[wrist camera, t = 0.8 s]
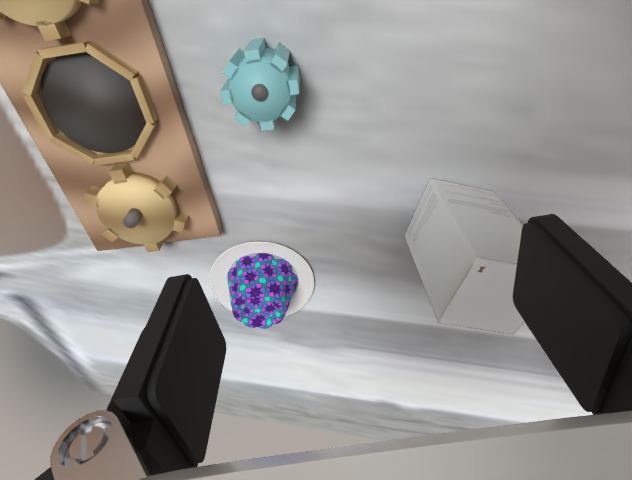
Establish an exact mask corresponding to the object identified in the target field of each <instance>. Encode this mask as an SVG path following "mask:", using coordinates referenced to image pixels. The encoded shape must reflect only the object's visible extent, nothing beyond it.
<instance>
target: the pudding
mask: <svg viewBox="0 0 632 480" xmlns="http://www.w3.org/2000/svg"><path fill="white" fill-rule="evenodd" d="M252 253H259V254H257V255H256V256H255V257H250V256H245V255H248V254H252ZM267 253H269V254H267ZM270 254H274V255H277V256H279V257H281V258H284V259H285V260H286V261H285V260H283V259H275V258H274V257H273V256H272V255H270ZM243 256H244V257H243ZM239 258H240V259H239ZM238 259H239V260H238ZM236 260H237V262H236V267H234V268H231V269H230V270H229V268H230V267H231V265H232V264H233V263H234V262H235V261H236ZM287 261H288V262H289V263H290V264H291V265H292V266H293V267H294V268H295V270H296V272H297V274H298V278H299V285H298V288H297V290H296V292H295V294H294V291H295V289H296V286H297V283H298V278H297V275H296V274H294V273H292V272H291V268H292V266H291V265H290V264H289V263H288V262H287ZM228 270H229V272H228ZM227 273H228V283H227ZM228 285H229V286H228ZM210 286H211V289H212V291H213V294H214V295H215V297H216V298H217V300H218V301H219V302H220V303H221V304H222V305H223V306H225V307H226V308H227V309H229V310H230V311H232V312H233V315H234V317H235V318H236V319H237V320H238V321H241V322H243V323H244V324H245V325H246V326H248V327H252V328H255V327H259V328H269V327H271V326H272V324H278V323H280V322H281V321H282V320H283V318H284V317H286V316H289V315H291V314H293V313H295V312H297V311H298V310H300V309H301V308H302V307H303V306H304V305H305V304H306V303H307V302H308V301H309V299H310V297H311V295H312V293H313V290H314V276H313V273H312V270H311V268H310V266H309V265H308V263H307V262H306V261H305V260H304V259H303V258H302V257H301V256H300V255H299V254H297V253H296V252H295V251H293V250H291V249H289V248H287V247H285V246H282V245H279V244H276V243H270V242H248V243H243V244H240V245H236V246H234V247H232V248H230V249H228V250H227V251H225V252H224V253H222V254H221V255H220V256H219V257H218V258H217V259H216V261H215V262H214V264H213V266H212V268H211V271H210ZM293 294H294V295H293Z"/></svg>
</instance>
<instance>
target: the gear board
mask: <svg viewBox="0 0 632 480" xmlns="http://www.w3.org/2000/svg"><path fill="white" fill-rule="evenodd" d="M0 83H1V85H2V87H3V89H4V90H5V92H6V94H7V96H8V97H9V99H10V101H11V102H12V104H13V106H14V108H15V109H16V111H17V113H18V115H19V116H20V118H21V120H22V121H23V123H24V125H25V127H26V128H27V130H28V132H29V134H30V135H31V137H32V139H33V140H34V142H35V144H36V146H37V147H38V149H39V151H40V152H41V154H42V156H43V158H44V159H45V161H46V163H47V165H48V166H49V168H50V170H51V171H52V173H53V175H54V177H55V178H56V180H57V182H58V184H59V185H60V187H61V189H62V190H63V192H64V194H65V196H66V197H67V199H68V201H69V202H70V204H71V206H72V208H73V209H74V211H75V213H76V215H77V216H78V218H79V220H80V221H81V223H82V225H83V227H84V228H85V230H86V232H87V234H88V235H89V237H90V239H91V240H92V242H93V244H94V246H95V247H96V249H97V251H102V250H110V249H118V248H126V247H134V246H142V245H144V246H145V248H146V250H147V252H153V251H159V250H160V248H161V246H162V244H163V243H165V242H173V241H181V240H189V239H197V238H205V237H212V236H220V235H221V232H222V229H223V226H222V223H221V220H220V217H219V214H218V211H217V208H216V205H215V202H214V199H213V196H212V193H211V190H210V187H209V184H208V180H207V177H206V174H205V171H204V168H203V165H202V162H201V159H200V156H199V153H198V150H197V147H196V144H195V141H194V138H193V135H192V132H191V129H190V126H189V123H188V120H187V117H186V114H185V111H184V108H183V105H182V102H181V98H180V95H179V92H178V89H177V86H176V83H175V80H174V77H173V74H172V71H171V68H170V65H169V62H168V59H167V56H166V53H165V50H164V47H163V44H162V41H161V38H160V35H159V32H158V29H157V26H156V23H155V20H154V16H153V13H152V10H151V7H150V4H149V1H148V0H0Z"/></svg>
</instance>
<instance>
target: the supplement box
mask: <svg viewBox="0 0 632 480" xmlns="http://www.w3.org/2000/svg"><path fill="white" fill-rule="evenodd" d="M522 227H523V225H522V224H521V223H520V222H519V220H518V219H517V218H516V217H515V216H514V215H513V213H512V212H511V211H510V210H509V209H508V208H507V206H506V205H505V204H504V203H503V202H502V200H501V199H500V198H499V197H498V196H497V195H496V193H495V192H492V191H487V190H483V189H479V188H474V187H469V186H465V185H460V184H456V183H451V182H446V181H442V180H437V179H433V178H431V179H430V181H429V183H428V185H427V187H426V189H425V192H424V194H423V196H422V198H421V200H420V202H419V205H418V207H417V209H416V211H415V213H414V215H413V218H412V220H411V222H410V224H409V226H408V229H407V231H406V233H405V239H406V241H407V244H408V246H409V249H410V252H411V254H412V257H413V259H414V262H415V264H416V267H417V270H418V272H419V275H420V277H421V280H422V283H423V285H424V288H425V290H426V293H427V295H428V298H429V300H430V303H431V305H432V308H433V311H434V313H435V316H436V318H437V321H438V323H440V324H447V325H454V326H461V327H468V328H474V329H481V330H487V331H494V332H500V333H506V334H515V333H516V331H517V330H518V329H519V328H520V326H521V325H522V324H523V323H524V320H523V318H522V317H521V315H520V314H519V312H518V311H517V309H516V308H515V306H514V303H513V288H514V281H515V274H516V267H517V260H518V253H519V246H520V239H521V232H522Z"/></svg>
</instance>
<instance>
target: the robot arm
mask: <svg viewBox="0 0 632 480" xmlns="http://www.w3.org/2000/svg"><path fill="white" fill-rule="evenodd" d="M513 303H514V306H515V308H516V309H517V311H518V312H519V314H520V315H521V317H522V318H523V320H524V321H525V323H526V324H527V326H528V327H529V329H530V330H531V332H532V333H533V335H534V336H535V338H536V339H537V341H538V342H539V344H540V345H541V347H542V348H543V350H544V351H545V353H546V354H547V356H548V357H549V359H550V360H551V362H552V363H553V365H554V366H555V368H556V369H557V371H558V372H559V374H560V375H561V377H562V378H563V380H564V381H565V383H566V384H567V386H568V387H569V389H570V390H571V392H572V393H573V395H574V396H575V398H576V399H577V401H578V402H579V404H580V405H581V406H582V408H583V409H584V410H585V411H587V412H592V413H593V415H588V416H579V417H570V418H561V419H553V420H545V421H537V422H529V423H521V424H513V425H505V426H497V427H489V428H481V429H473V430H465V431H457V432H450V433H442V434H434V435H426V436H419V437H411V438H403V439H396V440H388V441H380V442H373V443H366V444H358V445H350V446H343V447H335V448H328V449H321V450H313V451H306V452H298V453H291V454H283V455H276V456H269V457H261V458H254V459H247V460H240V461H234V462H227V463H220V464H214V465H208V466H201V467H197V466H198V463H201V462H203V460H204V458H205V454H206V449H207V444H208V439H209V434H210V429H211V424H212V419H213V414H214V409H215V404H216V399H217V394H218V389H219V384H220V379H221V374H222V369H223V364H224V359H225V354H226V342H225V339H224V336H223V334H222V332H221V330H220V328H219V325H218V323H217V321H216V319H215V316H214V314H213V312H212V310H211V308H210V305H209V303H208V301H207V299H206V296H205V294H204V292H203V290H202V287H201V285H200V283H199V281H198V279H197V278H192V277H191V276H190V275H188V274H186V275H180V276H174V277H169V278H168V279H167V280H166V283H165V285H164V287H163V289H162V292H161V294H160V296H159V298H158V300H157V303H156V305H155V307H154V309H153V312H152V314H151V316H150V318H149V320H148V323H147V325H146V327H145V328H144V330H143V331H142V333H141V335H140V337H139V339H138V342H137V344H136V346H135V348H134V350H133V353H132V355H131V357H130V359H129V361H128V364H127V366H126V368H125V370H124V372H123V375H122V377H121V379H120V381H119V383H118V386H117V388H116V390H115V392H114V394H113V397H112V399H111V401H110V403H109V405H108V408H107V410H99V411H95V412H92V413H89V414H86V415H85V416H83V417H82V418H79V419H78V420H76V421H75V422H74V423H73V424H71V425H70V426H69V427H68V428H67V429H66V430H65V431H64V432H63V433H62V434H61V436H60V437H59V438H58V440H57V442H56V443H55V445H54V447H53V449H52V453H51V456H50V463H51V464H50V465H51V467H50V468H49V469H47V470H46V471H45V472H44V473H42V474H41V475H40V476H39V477H37V478H36V479H35V480H632V283H631V282H630V281H629V280H628V279H627V278H626V277H625V276H624V275H622V274H621V273H620V272H619V271H618V270H617V269H616V268H615V267H613V266H612V265H611V264H610V263H609V262H608V261H607V260H606V259H605V258H603V257H602V256H601V255H600V254H599V253H598V252H597V251H596V250H595V249H593V248H592V247H591V246H590V245H589V244H588V243H587V242H586V241H585V240H583V239H582V238H581V237H580V236H579V235H578V234H577V233H576V232H574V231H573V230H572V229H571V228H570V227H569V226H568V225H567V224H566V223H564V222H563V221H562V220H561V219H560V218H559V217H558V216H556V215H555V214H549V215H543V216H537V217H532V218H530V219H529V221H528V223H527V224H524V225H523V227H522V232H521V239H520V246H519V253H518V260H517V267H516V274H515V281H514V288H513Z"/></svg>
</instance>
